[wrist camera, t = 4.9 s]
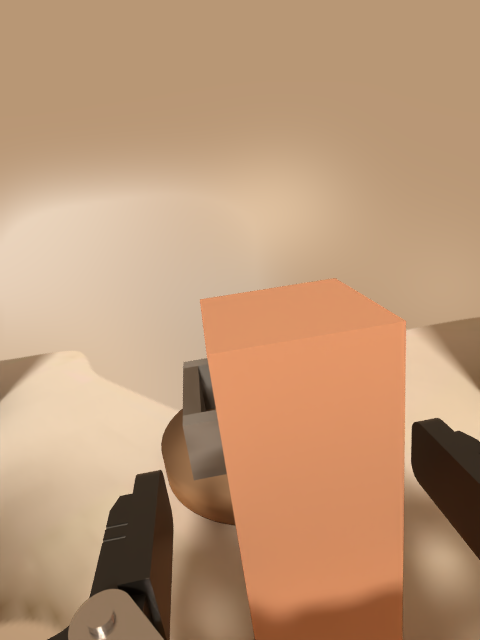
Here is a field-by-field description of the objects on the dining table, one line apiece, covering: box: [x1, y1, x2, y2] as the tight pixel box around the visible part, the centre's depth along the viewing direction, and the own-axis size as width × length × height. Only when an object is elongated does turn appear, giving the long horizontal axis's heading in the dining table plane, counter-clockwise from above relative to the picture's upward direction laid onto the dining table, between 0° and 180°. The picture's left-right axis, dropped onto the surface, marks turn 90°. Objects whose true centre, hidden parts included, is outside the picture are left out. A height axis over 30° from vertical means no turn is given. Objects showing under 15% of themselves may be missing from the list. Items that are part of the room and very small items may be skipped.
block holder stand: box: [161, 359, 236, 525], centre depth 26 cm, size 12×12×6 cm
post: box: [200, 278, 406, 640], centre depth 12 cm, size 4×4×14 cm
